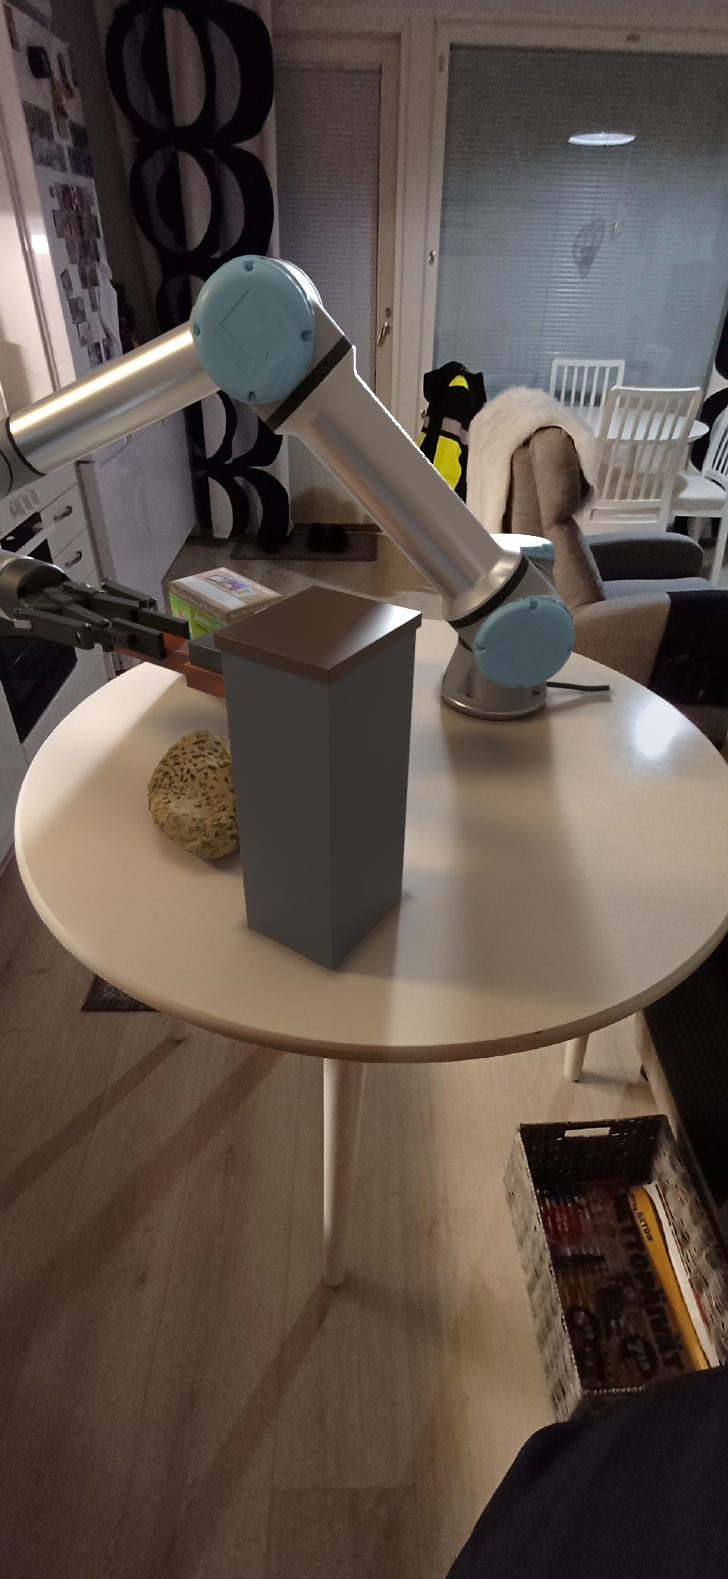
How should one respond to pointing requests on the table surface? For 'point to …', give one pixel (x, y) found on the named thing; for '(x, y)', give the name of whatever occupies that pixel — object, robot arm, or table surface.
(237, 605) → the tea box
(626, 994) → the table surface
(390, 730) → the pedestal
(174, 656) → the brush
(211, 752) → the sponge
